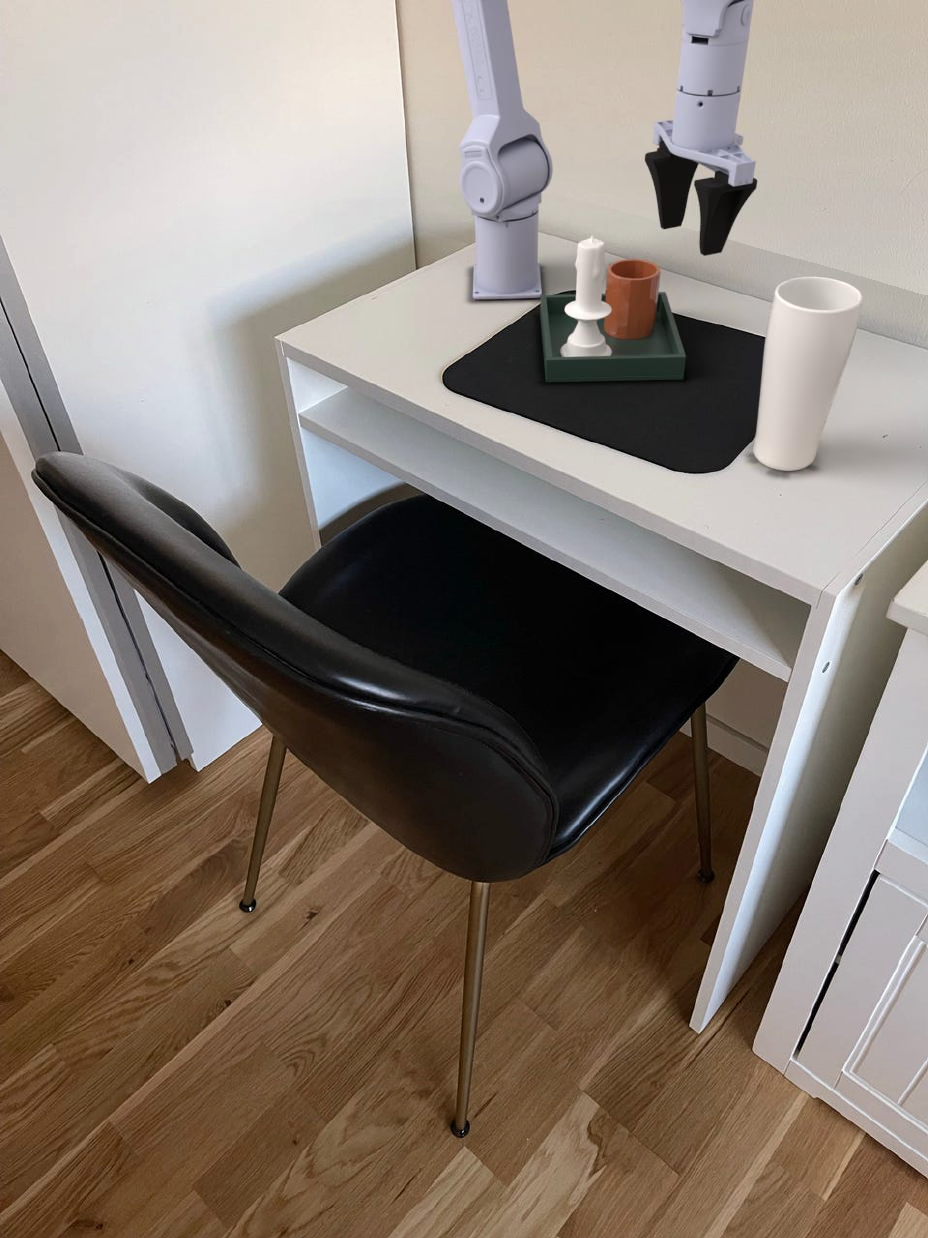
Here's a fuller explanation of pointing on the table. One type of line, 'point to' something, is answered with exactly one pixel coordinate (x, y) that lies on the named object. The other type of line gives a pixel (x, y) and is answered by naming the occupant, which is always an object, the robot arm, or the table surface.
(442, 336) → the table surface
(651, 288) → the cup
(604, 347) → the candle
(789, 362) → the drinking glass
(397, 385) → the table surface
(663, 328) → the tray
